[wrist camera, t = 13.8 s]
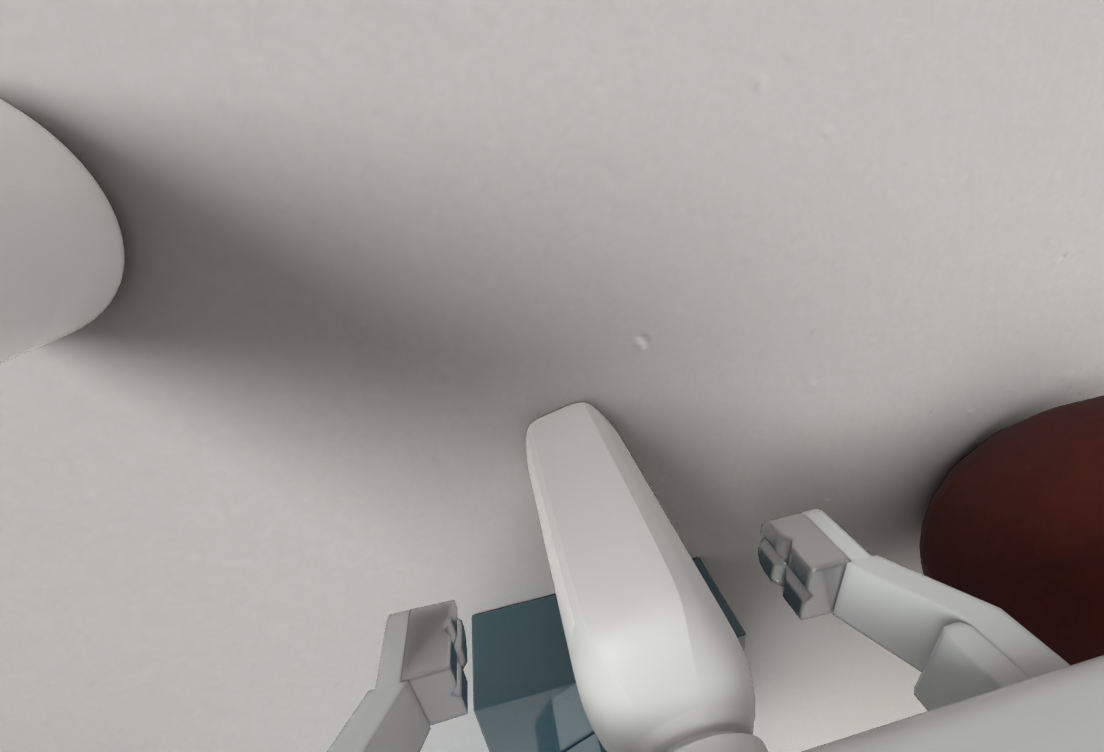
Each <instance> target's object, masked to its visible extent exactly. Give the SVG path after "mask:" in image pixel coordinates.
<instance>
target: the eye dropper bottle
mask: <svg viewBox="0 0 1104 752" xmlns="http://www.w3.org/2000/svg"><path fill="white" fill-rule="evenodd" d="M526 457H527V464H528V470H529V474H530V479H531V483H532V488H533V492H534V497H535V501H536V506H537V511H538V515H539V520H540V524H541V529H542V533H543V538H544V542H545V547H546V551H547V556H548V560H549V565H550V570H551V574H552V579H553V583H554V588H555V592H556V597H557V601H558V606H559V610H560V615H561V619H562V624H563V628H564V633H565V637H566V641H567V646H568V650H569V655H570V659H571V664H572V668H573V672H574V676H575V680H576V684H577V688H578V692H579V695H580V699H581V702H582V705H583V708H584V711H585V713H586V715H587V718H588V720H589V722H590V725H591V727H592V729H593V731H594V732H595V734H596V736H597V738H598V739H599V741H600V742H601V744H602V746H603V747H604V749H605V750H606V751H607V752H768V750H767V748H766V747H765V745H764V743H763V741H762V740H761V739H760V738H758V737H757V736H754V735H753V728H754V719H755V695H754V688H753V682H752V677H751V673H750V669H749V666H748V663H747V660H746V657H745V654H744V651H743V649H742V647H741V645H740V643H739V641H738V639H737V636H736V634H735V633H734V631H733V629H732V627H731V625H730V623H729V622H728V620H727V618H726V616H725V615H724V613H723V611H722V610H721V608H720V606H719V604H718V603H717V601H716V599H715V598H714V596H713V594H712V592H711V591H710V589H709V587H708V586H707V584H706V582H705V580H704V579H703V577H702V575H701V574H700V572H699V570H698V568H697V567H696V565H695V563H694V562H693V560H692V558H691V557H690V555H689V553H688V551H687V550H686V548H685V546H684V545H683V543H682V541H681V540H680V538H679V536H678V534H677V533H676V531H675V529H674V528H673V526H672V524H671V523H670V521H669V519H668V517H667V516H666V514H665V512H664V511H663V509H662V507H661V506H660V504H659V502H658V500H657V499H656V497H655V495H654V494H653V492H652V490H651V489H650V487H649V485H648V484H647V482H646V480H645V478H644V477H643V475H642V473H641V472H640V470H639V468H638V467H637V465H636V463H635V462H634V460H633V458H632V456H631V455H630V453H629V451H628V450H627V448H626V446H625V445H624V443H623V441H622V440H621V438H620V436H619V435H618V433H617V432H616V430H615V429H614V427H613V426H612V425H611V424H610V422H609V421H608V420H607V419H606V418H605V417H604V416H603V415H602V414H601V413H600V412H599V411H598V410H597V409H595V408H594V407H593V406H592V405H590V404H587V403H584V402H580V403H574V404H571V405H569V406H566V407H564V408H561V409H559V410H557V411H554V412H552V413H550V414H547V415H545V416H543V417H541V418H538V419H537V420H535V421H534V422H533V423H531V424H530V426H529V428H528V430H527V435H526Z"/></svg>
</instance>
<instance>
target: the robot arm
mask: <svg viewBox="0 0 1104 752" xmlns="http://www.w3.org/2000/svg"><path fill="white" fill-rule="evenodd" d="M760 532H761V534H762V535H763V536H764V538H763V539H762V541H761V542H760V543H759V544H758V556H759V560H760V564H761V566H762V568H763V569H764V571H765V573H766V574H767V576H768V577H769V578H770V580H771V581H772V582H774V583H776V584H778V585H780V586H782V587H783V597H784V598H785V600H786V601H787V602H788V604H789V605H790V606H791V608H792V609H793V610H794V612H795V613H796V614H797V615H798V617H799V618H800V619H801V620H803V619H807V618H812V617H816V616H820V615H824V614H828V613H832V612H833V615H835V616H836V617H838V618H839V619H841V620H842V621H844V622H845V623H847V624H848V625H850V626H851V627H853V628H855V629H856V630H858V631H859V632H861V633H862V634H864V635H865V636H867V637H868V638H870V639H871V640H873V641H875V642H876V643H878V644H879V645H881V646H882V647H884V648H885V649H887V650H888V651H890V652H891V653H893V654H894V655H896V656H898V657H899V658H901V659H902V660H904V661H905V662H907V663H908V664H910V665H911V666H913V667H914V668H916V669H918V670H919V671H921V672H922V673H921V675H920V677H919V679H918V681H917V683H916V685H915V687H914V695H915V696H916V697H917V699H918V700H919V701H920V702H921V703H922V704H923V706H924V707H925V708H926V709H927V710H928V711H927V712H924V713H920V714H917V715H914V716H911V717H908V718H905V719H902V720H899V721H895V722H892V723H889V724H886V725H883V726H880V727H877V728H874V729H870V730H867V731H864V732H861V733H858V734H855V735H852V736H849V737H845V738H842V739H839V740H836V741H833V742H830V743H827V744H824V745H820V746H817V747H814V748H811V749H808V750H805V751H802V752H1104V655H1102V656H1099V657H1095V658H1092V659H1089V660H1086V661H1083V662H1080V663H1077V664H1074V665H1070V664H1068V663H1067V662H1066V661H1065V660H1063V659H1062V658H1061V657H1060V656H1059V655H1057V654H1056V653H1055V652H1054V651H1052V650H1051V649H1050V648H1049V647H1047V646H1046V645H1045V644H1044V643H1043V642H1041V641H1040V640H1039V639H1038V638H1036V637H1035V636H1034V635H1033V634H1031V633H1030V632H1029V631H1028V630H1027V629H1025V628H1024V627H1023V626H1022V625H1020V624H1019V623H1018V622H1017V621H1016V620H1014V619H1013V618H1012V617H1011V616H1009V615H1008V614H1007V613H1006V612H1004V611H1003V610H1002V609H1001V608H999V607H996V606H994V605H992V604H990V603H987V602H985V601H983V600H980V599H978V598H976V597H973V596H971V595H969V594H966V593H964V592H962V591H959V590H957V589H955V588H952V587H950V586H948V585H946V584H943V583H941V582H939V581H936V580H934V579H932V578H929V577H927V576H925V575H922V574H920V573H918V572H915V571H913V570H911V569H908V568H906V567H904V566H902V565H899V564H897V563H895V562H892V561H890V560H888V559H885V558H883V557H881V556H878V555H874V556H871V555H870V554H869V553H868V552H867V551H866V550H865V549H863V548H862V547H861V546H860V545H859V544H858V543H857V542H856V541H855V540H854V539H853V538H852V537H851V536H850V535H848V534H847V533H846V532H845V531H844V530H843V529H842V528H841V527H840V526H839V525H838V524H837V523H836V522H834V521H833V520H832V519H831V518H830V517H829V516H828V515H827V514H826V513H825V512H824V511H822V510H820V509H818V508H817V509H812V510H809V511H805V512H801V513H795V514H791V515H787V516H784V517H780V518H776V519H772V520H769V521H765V522H764V523H763V524H762V525H761V531H760ZM466 663H467V645H466V636H465V631H464V626H463V623H462V620H460V619H458V618H457V606H456V603H455V601H454V600H451V601H447V602H442V603H438V604H433V605H429V606H424V607H420V608H415V609H411V610H406V611H402V612H398V613H394V614H390V615H389V618H388V620H387V622H386V628H385V633H384V639H383V645H382V651H381V657H380V663H379V669H378V675H377V680H376V686H375V689H373V690H370V691H368V692H367V694H366V695H365V697H364V698H363V700H362V701H361V703H360V704H359V705H358V707H357V708H356V710H355V711H354V713H353V714H352V716H351V717H350V719H349V720H348V722H347V723H346V725H345V726H344V727H343V729H342V730H341V732H340V733H339V735H338V736H337V738H336V739H335V741H334V742H333V744H332V745H331V747H330V748H329V749H328V751H327V752H420V750H421V748H422V746H423V744H424V741H425V739H426V737H427V735H428V733H429V731H430V725H433V724H437V723H440V722H443V721H446V720H449V719H453V718H456V717H459V716H462V715H465V714H468V705H467V680H466V677H465V674H464V671H463V669H464V667H465V665H466Z"/></svg>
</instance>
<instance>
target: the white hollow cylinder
mask: <svg viewBox="0 0 1104 752" xmlns="http://www.w3.org/2000/svg"><path fill="white" fill-rule="evenodd" d="M124 262H125V256H124V244H123V238H122V234H121V230H120V226H119V223H118V221H117V218H116V215H115V213H114V211H113V209H112V207H111V205H110V203H109V201H108V199H107V197H106V196H105V194H104V192H103V191H102V189H101V187H100V186H99V185H98V183H97V182H96V180H95V179H94V177H93V176H92V175H91V174H90V172H89V171H88V170H87V169H86V168H85V166H84V165H83V164H82V163H81V162H80V161H79V160H78V159H77V157H76V156H75V155H74V154H73V153H72V152H71V151H70V150H69V149H68V148H67V147H66V146H65V145H64V144H62V143H61V142H60V141H59V140H58V139H57V138H56V137H55V136H54V135H52V134H51V133H50V132H49V131H47V130H46V129H45V128H44V127H43V126H41V125H40V124H38V123H37V122H36V121H34V120H33V119H32V118H30V117H29V116H27V115H26V114H24V113H23V112H21V111H20V110H18V109H16V108H15V107H13V106H12V105H10V104H8V103H7V102H5V101H3V100H2V99H0V364H2V363H4V362H6V361H8V360H10V359H12V358H14V357H17V356H19V355H21V354H24V353H26V352H29V351H31V350H33V349H36V348H38V347H41V346H43V345H45V344H48V343H50V342H52V341H55V340H57V339H60V338H62V337H64V336H67V335H69V334H71V333H73V332H75V331H77V330H79V329H80V328H82V327H84V326H86V325H87V324H89V323H90V322H91V321H93V320H94V319H95V318H97V317H98V316H99V315H100V314H101V313H102V312H103V311H104V310H105V309H106V308H107V306H108V305H109V304H110V303H111V301H112V300H113V298H114V296H115V294H116V293H117V291H118V289H119V286H120V283H121V281H122V276H123V272H124Z"/></svg>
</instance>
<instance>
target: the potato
mask: <svg viewBox="0 0 1104 752" xmlns="http://www.w3.org/2000/svg"><path fill="white" fill-rule="evenodd" d="M919 546H920V557H921V565H922V569H923V573H924V575H925V576H927V577H929V578H932V579H934V580H936V581H939V582H941V583H943V584H946V585H948V586H950V587H952V588H955V589H957V590H959V591H962V592H964V593H966V594H969V595H971V596H973V597H976V598H978V599H980V600H983V601H985V602H987V603H990V604H992V605H994V606H996V607H999V608H1001V609H1002V610H1003V611H1004V612H1006V613H1007V614H1008V615H1009V616H1011V617H1012V618H1013V619H1014V620H1016V621H1017V622H1018V623H1019V624H1020V625H1022V626H1023V627H1024V628H1025V629H1027V630H1028V631H1029V632H1030V633H1031V634H1033V635H1034V636H1035V637H1036V638H1038V639H1039V640H1040V641H1041V642H1043V643H1044V644H1045V645H1046V646H1047V647H1049V648H1050V649H1051V650H1052V651H1054V652H1055V653H1056V654H1057V655H1059V656H1060V657H1061V658H1062V659H1063V660H1065V661H1066V662H1067V663H1068V664H1070V665H1074V664H1077V663H1080V662H1083V661H1086V660H1089V659H1092V658H1095V657H1099V656H1102V655H1104V396H1100V397H1096V398H1092V399H1088V400H1084V401H1079V402H1075V403H1071V404H1067V405H1063V406H1059V407H1055V408H1053V409H1050V410H1047V411H1044V412H1041V413H1039V414H1037V415H1034V416H1032V417H1030V418H1028V419H1025V420H1023V421H1021V422H1019V423H1016V424H1014V425H1012V426H1010V427H1007V428H1005V429H1003V430H1000V431H998V432H996V433H995V434H994V435H992V436H991V437H990V438H989V439H987V440H986V441H985V442H984V443H982V444H981V445H980V446H978V447H977V448H976V449H975V450H973V451H972V452H971V453H970V454H968V455H967V456H966V457H964V458H963V459H962V460H961V461H959V462H958V463H957V464H956V465H954V466H953V468H952V469H951V471H950V472H949V474H948V475H947V476H946V478H945V479H944V481H943V482H942V484H941V485H940V487H939V488H938V490H937V491H936V493H935V494H934V495H933V497H932V499H931V502H930V504H929V507H928V510H927V512H926V515H925V517H924V520H923V523H922V529H921V537H920V545H919Z"/></svg>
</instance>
